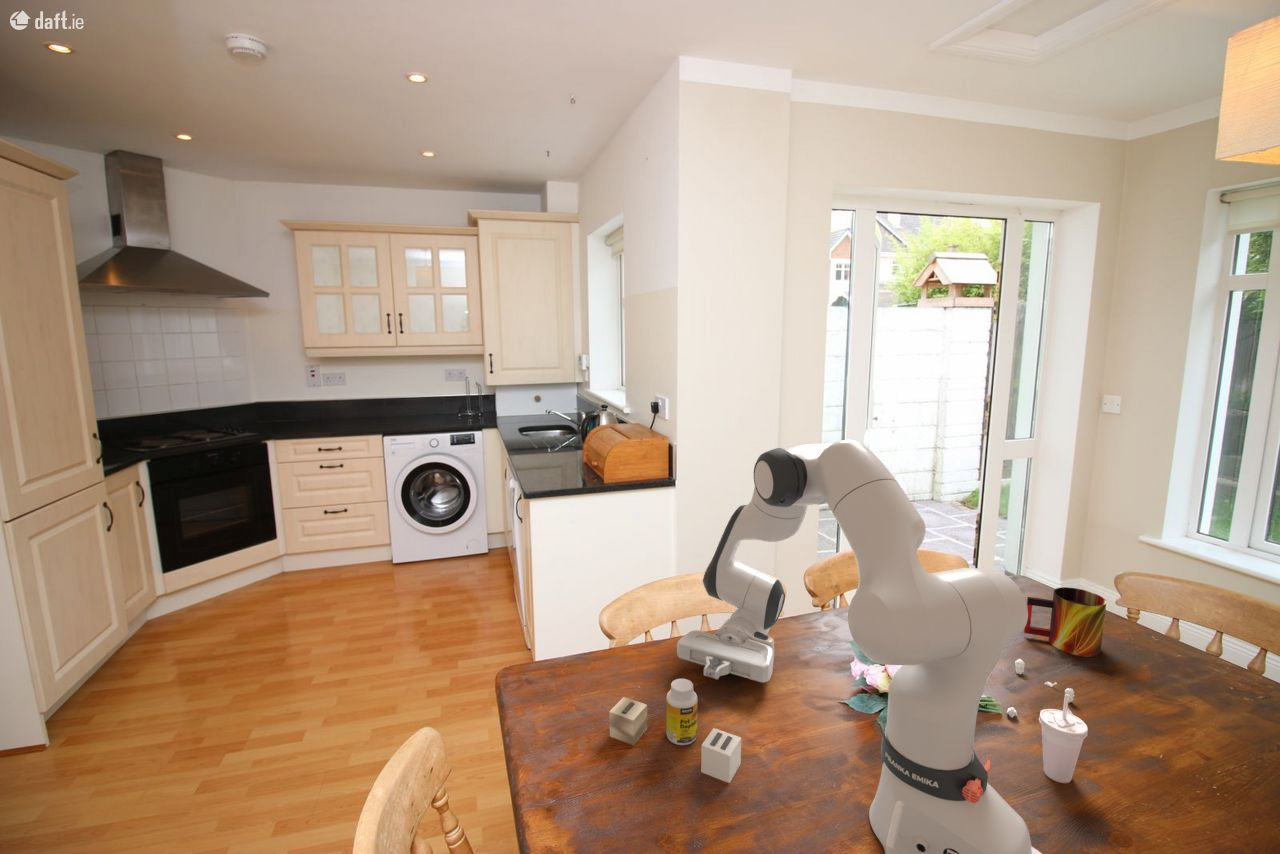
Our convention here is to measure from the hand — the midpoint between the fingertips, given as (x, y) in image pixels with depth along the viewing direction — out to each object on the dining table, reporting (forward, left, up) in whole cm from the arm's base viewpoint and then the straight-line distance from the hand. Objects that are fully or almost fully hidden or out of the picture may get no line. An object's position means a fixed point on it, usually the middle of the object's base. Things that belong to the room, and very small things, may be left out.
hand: (710, 674), depth 116 cm
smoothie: (-53, -25, -5) cm, 59 cm away
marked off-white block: (-14, +13, -5) cm, 20 cm away
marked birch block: (+4, +19, -5) cm, 20 cm away
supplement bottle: (-4, +12, -5) cm, 14 cm away
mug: (-44, -74, -5) cm, 86 cm away
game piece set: (-42, -45, -6) cm, 62 cm away
